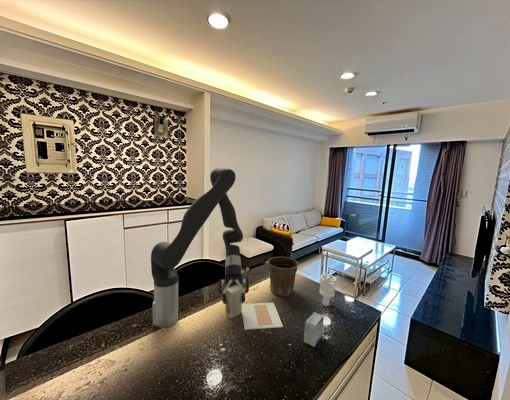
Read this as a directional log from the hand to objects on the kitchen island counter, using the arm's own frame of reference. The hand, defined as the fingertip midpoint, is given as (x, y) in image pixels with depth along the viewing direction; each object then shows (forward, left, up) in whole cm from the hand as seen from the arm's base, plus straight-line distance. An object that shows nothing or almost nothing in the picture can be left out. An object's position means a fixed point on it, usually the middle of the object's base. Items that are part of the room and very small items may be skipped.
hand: (233, 303), depth 99 cm
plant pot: (+27, +19, -6) cm, 34 cm away
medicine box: (+30, -17, -6) cm, 35 cm away
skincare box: (0, +1, -6) cm, 6 cm away
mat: (+12, -1, -6) cm, 13 cm away
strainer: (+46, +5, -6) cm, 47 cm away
